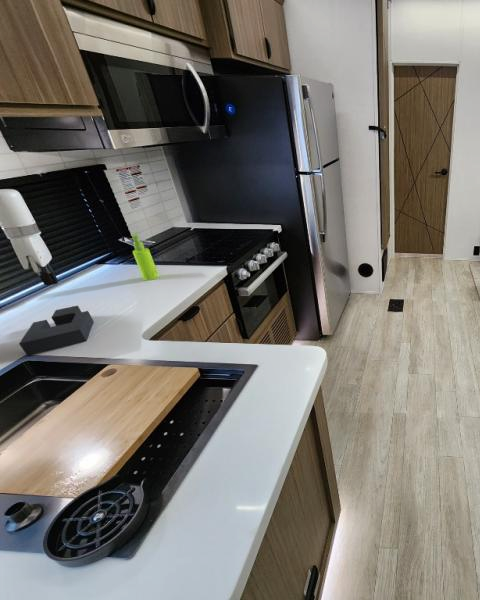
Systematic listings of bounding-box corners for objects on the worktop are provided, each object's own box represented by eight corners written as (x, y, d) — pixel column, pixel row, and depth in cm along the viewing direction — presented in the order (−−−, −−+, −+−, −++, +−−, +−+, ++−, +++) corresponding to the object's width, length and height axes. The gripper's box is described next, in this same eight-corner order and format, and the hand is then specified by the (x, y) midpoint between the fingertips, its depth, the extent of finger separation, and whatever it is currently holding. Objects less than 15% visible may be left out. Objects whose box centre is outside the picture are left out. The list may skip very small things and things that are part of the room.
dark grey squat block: (57, 328, 113) (51, 317, 111) (62, 320, 118) (55, 309, 115) (80, 323, 116) (74, 312, 114) (83, 316, 120) (77, 305, 118)
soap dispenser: (157, 273, 154) (140, 231, 145) (160, 277, 150) (144, 234, 141) (142, 277, 151) (124, 234, 141) (145, 281, 146) (127, 237, 137)
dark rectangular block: (27, 355, 100) (18, 343, 98) (40, 333, 110) (33, 322, 108) (86, 341, 106) (80, 329, 104) (93, 321, 117) (88, 310, 115)
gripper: (14, 227, 107) (44, 278, 116) (-5, 239, 96) (29, 295, 105) (45, 223, 111) (71, 274, 119) (30, 235, 99) (60, 289, 108)
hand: (52, 283), depth 112 cm, fingers closed
